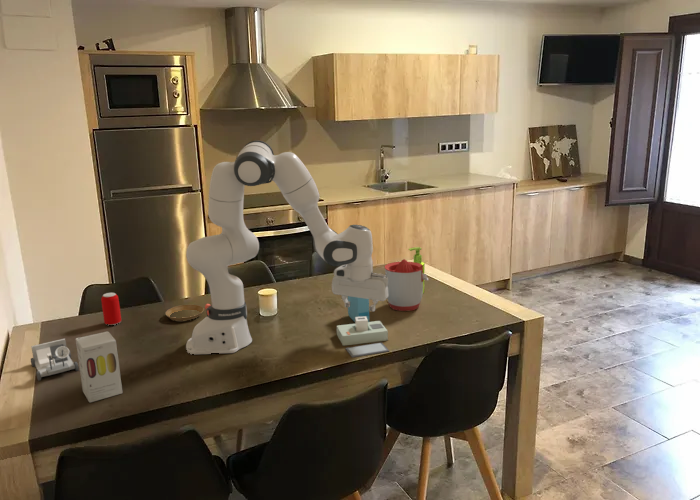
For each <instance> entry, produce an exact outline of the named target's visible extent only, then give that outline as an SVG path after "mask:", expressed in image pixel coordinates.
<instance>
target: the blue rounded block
mask: <svg viewBox="0 0 700 500" xmlns="http://www.w3.org/2000/svg"><path fill="white" fill-rule="evenodd" d="M347 300H348V301H349V302H350V307H349V308H348V307H347V315H348V317H349V318H350V319H351V320H352V321H353V322H354V323H355V317H363V316H366V317H367V320H368V322H370V299H364V298H357V297H350V296H347Z"/></svg>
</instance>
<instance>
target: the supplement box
mask: <svg viewBox="0 0 700 500" xmlns="http://www.w3.org/2000/svg"><path fill="white" fill-rule="evenodd" d="M75 344H76V350H77V351H76V353H77V359H78V367H79V373H80V379H81V388H82V392H83V394H84V396H85V397H86V399H87V401H88V402H89V403H90V404H91V403H93V402H98V401H100V400H103V399H107V398H111V397H114V396H117V395H118V396H119V395H121V394H123V385H122V380H121V371H120V362H119V355H118V349H117V347H118V346H117V340H116V338H115V337H113V335H112V334H111V333H110V332H109V331H104V332H99V333H94V334H89V335H86V336H82V337H81V336H80V337H76V338H75Z"/></svg>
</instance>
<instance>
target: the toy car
mask: <svg viewBox="0 0 700 500" xmlns="http://www.w3.org/2000/svg"><path fill="white" fill-rule="evenodd" d="M31 351H32V353H31V354H32V357H31V358H30V363H31V366H32V368H34V367H35V368H36V372H35V373H36V378H37V381H38V382H40V381H42V378H43V377H48V376H53V375H56V374H60V373H65V372H67V371H70V370H75V372H79V371H80V367H79V362H77V361H73V359H71V358H72V354H71V350H70V349H69V348H68V346H67V341H66V338H61V339H57V340H52V341H48V342H43V343H40V344H35V345H31Z"/></svg>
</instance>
